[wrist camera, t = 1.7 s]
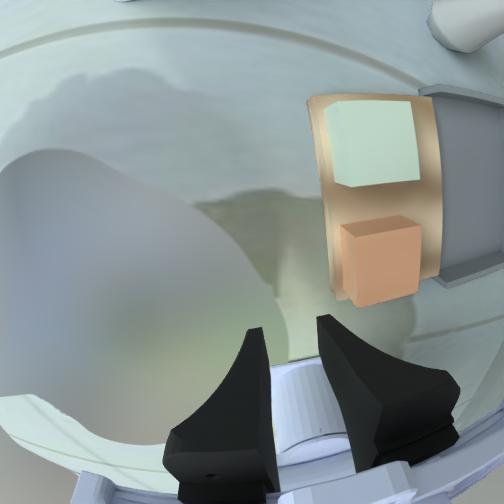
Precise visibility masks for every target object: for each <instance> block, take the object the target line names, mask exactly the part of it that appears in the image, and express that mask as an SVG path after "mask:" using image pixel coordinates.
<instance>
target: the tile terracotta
mask: <svg viewBox="0 0 504 504" xmlns="http://www.w3.org/2000/svg"><path fill="white" fill-rule="evenodd" d="M339 226H340V238H341V251H342V268H343V289H344V290H345V292H346V293H347V294H348V296H349V297H350V299H351V300H352V302H353V303H354V305H355V306H356V308H361V307H365V306H369V305H373V304H377V303H381V302H385V301H388V300H392V299H396V298H399V297H403V296H406V295H410V294H413V293H417V292H418V286H419V275H420V260H421V232H422V225H420V224H418V223H416V222H414V221H412V220H410V219H407V218H405V217H403V216H401V215H396V216H390V217H384V218H378V219H372V220H366V221H360V222H354V223H348V224H342V225H339Z"/></svg>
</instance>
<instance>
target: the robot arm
mask: <svg viewBox="0 0 504 504" xmlns="http://www.w3.org/2000/svg"><path fill="white" fill-rule="evenodd" d="M316 318H317V333H318V349H319V354H320V357H316V358H311V359H306V360H301V361H296V362H291V363H286V364H280V365H274V366H269V359H268V355H267V350H266V345H265V340H264V335H263V330H262V327H259V328H254V329H248V331H247V332H246V336H245V339H244V342H243V345H242V347H241V349H240V351H239V353H238V355H237V358H236V360H235V362H234V363H233V365H232V367H231V369H230V370H229V372H228V374H227V375H226V377H225V378H224V380H223V381H222V383H221V384H220V385H219V387H218V388H217V389H216V390H215V392H214V393H213V394H212V395H211V397H210V398H209V399H208V400H207V401H206V402H205V403H204V404H203V405H202V406H201V407H200V408H199V409H198V410H197V411H195V413H193V414H192V415H191V416H190V417H188V418H187V419H186V420H184V421H183V422H182V423H180V424H179V425H177V426H176V427H175V428H173V429H172V430H171V431H170V434H169V437H168V439H167V442H166V446H165V450H164V455H163V465H164V467H165V468H166V469H167V470H168V471H169V472H170V473H171V474H172V475H173V476H174V477H175V478H176V479H177V480H178V481H179V482H180V483H179V490H178V494H168V493H159V492H152V491H145V490H139V489H133V488H127V487H122V486H118V485H116V484H115V483H114V482H113V481H111V480H110V479H108V478H106V477H104V476H101V475H98V474H94V473H90V472H86V471H81V473H80V476H79V479H78V482H77V484H76V487H75V490H74V493H73V496H72V499H71V502H70V504H451V502H450V500H452V499H453V498H455V497H457V496H458V495H460V494H461V493H463V492H464V491H466V490H467V489H469V488H470V487H472V486H473V485H475V484H476V483H477V482H479V481H480V480H482V479H483V478H484V477H486V476H487V475H488V474H490V473H491V472H492V471H493V470H495V469H496V468H497V467H499V466H500V465H501V464H502V463H504V399H503V401H502V403H501V405H500V406H499V407H497V408H496V409H495V410H493V411H492V412H490V413H489V414H487V415H486V416H484V417H483V418H481V419H480V420H478V421H477V422H475V423H474V424H472V425H470V426H469V427H467V428H466V429H464V430H462V431H460V432H459V433H457V431H456V429H455V428H454V426H453V424H452V423H453V422H454V418H453V417H452V415H451V412H452V410H453V408H454V406H455V404H456V402H457V400H458V398H459V395H460V387H459V386H458V384H457V383H456V381H455V380H454V379H453V377H452V376H451V375H450V374H449V373H448V372H447V371H445V370H439V369H432V368H427V367H423V366H419V365H415V364H412V363H408V362H405V361H403V360H400V359H397V358H395V357H393V356H390V355H388V354H386V353H384V352H382V351H380V350H378V349H376V348H374V347H373V346H371V345H369V344H368V343H366V342H365V341H363V340H362V339H360V338H359V337H357V336H356V335H355V334H353V333H352V332H351V331H349V330H348V329H347V328H346V327H344V326H343V325H342V324H341V323H340V322H338V321H337V320H336V319H335V318H334V317H333V316H331V315H330V314H327V315H323V316H318V317H316ZM272 415H273V420H274V422H275V430H276V439H277V448H278V454H277V455H276V452H275V444H274V436H273V428H272Z"/></svg>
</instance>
